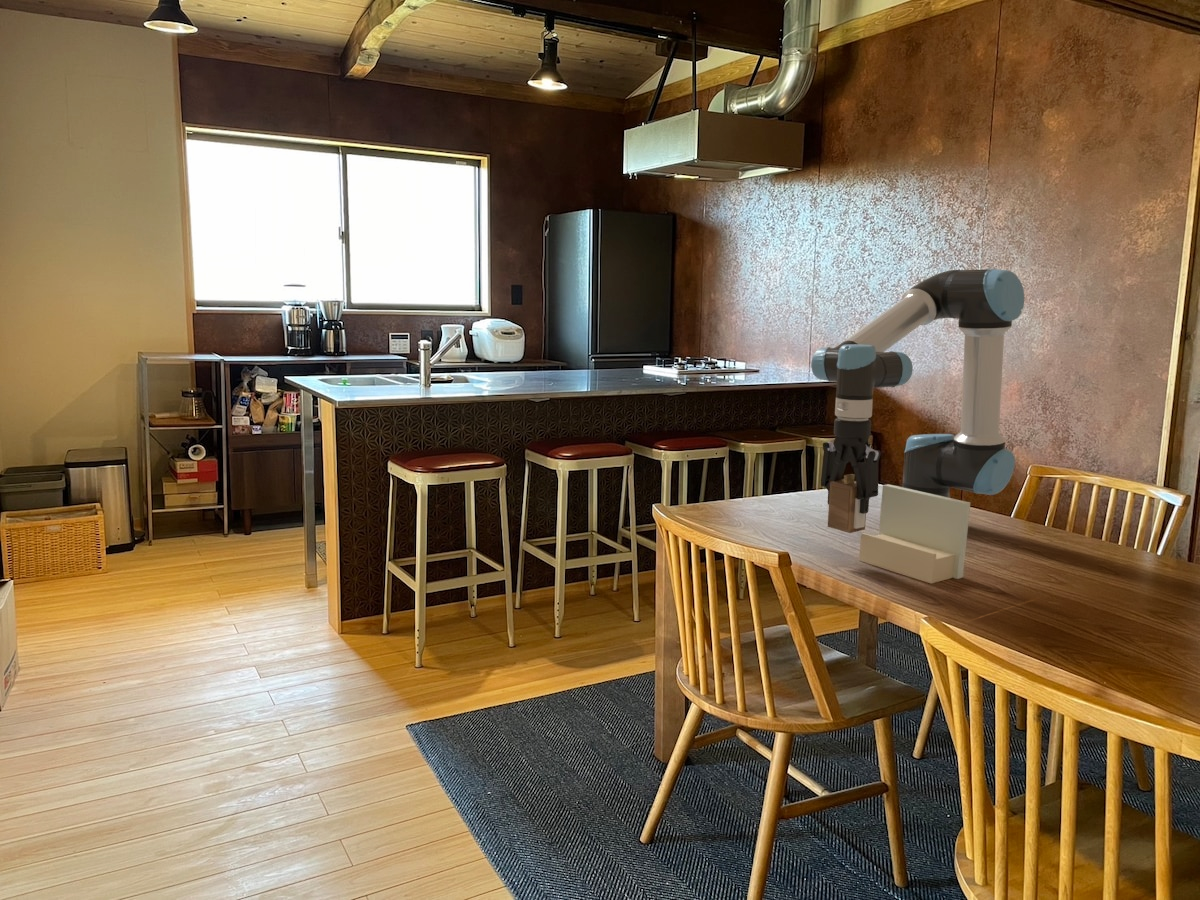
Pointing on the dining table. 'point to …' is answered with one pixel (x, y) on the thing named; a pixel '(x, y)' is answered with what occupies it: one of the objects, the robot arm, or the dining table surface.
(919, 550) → the wall board
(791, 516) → the dining table surface
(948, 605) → the dining table surface
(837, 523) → the wooden block with peg
